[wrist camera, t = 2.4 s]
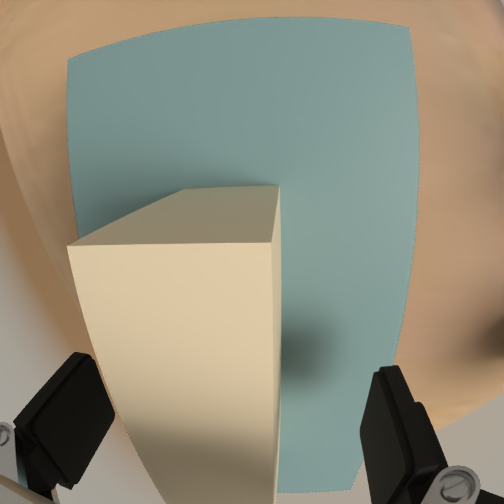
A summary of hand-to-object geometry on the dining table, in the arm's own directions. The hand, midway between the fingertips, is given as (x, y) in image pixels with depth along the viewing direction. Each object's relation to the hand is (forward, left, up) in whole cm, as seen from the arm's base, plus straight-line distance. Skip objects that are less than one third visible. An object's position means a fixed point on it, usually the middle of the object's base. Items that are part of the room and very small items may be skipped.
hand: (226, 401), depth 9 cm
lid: (0, 0, -5) cm, 5 cm away
